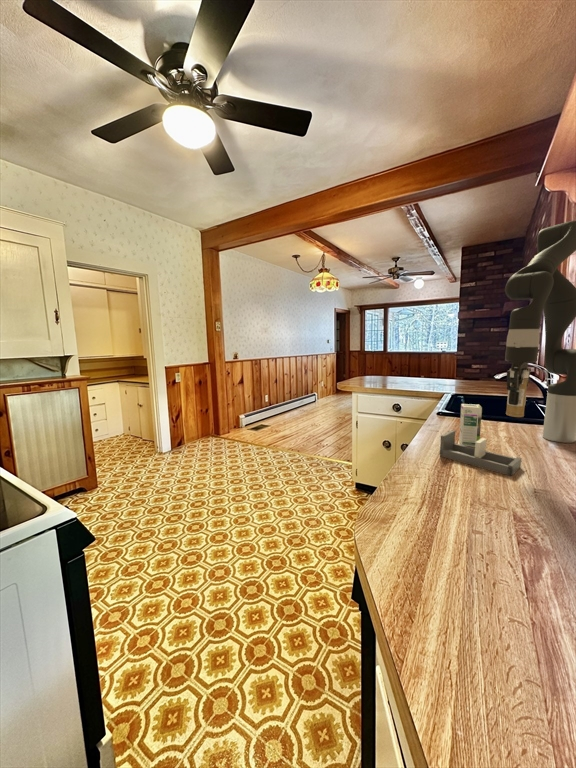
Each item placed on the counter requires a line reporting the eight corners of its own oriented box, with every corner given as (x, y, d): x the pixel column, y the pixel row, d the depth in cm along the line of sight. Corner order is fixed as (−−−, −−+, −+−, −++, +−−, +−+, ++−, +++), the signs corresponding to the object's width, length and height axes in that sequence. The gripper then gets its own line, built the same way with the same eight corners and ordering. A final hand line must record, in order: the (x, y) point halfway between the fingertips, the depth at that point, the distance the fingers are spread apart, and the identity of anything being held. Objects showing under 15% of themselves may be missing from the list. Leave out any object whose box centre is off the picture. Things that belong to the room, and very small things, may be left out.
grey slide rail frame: (451, 449, 109) (452, 430, 108) (520, 467, 93) (522, 445, 92) (439, 455, 103) (440, 435, 102) (511, 476, 88) (513, 452, 87)
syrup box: (460, 446, 112) (463, 406, 109) (458, 440, 117) (461, 402, 115) (479, 447, 110) (482, 407, 107) (476, 442, 115) (479, 403, 113)
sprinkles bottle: (526, 416, 93) (531, 370, 91) (520, 418, 90) (525, 372, 88) (509, 412, 97) (513, 369, 94) (502, 415, 94) (507, 370, 92)
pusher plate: (481, 453, 100) (482, 437, 99) (485, 454, 99) (486, 438, 98) (474, 458, 96) (475, 442, 96) (478, 459, 96) (479, 443, 95)
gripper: (514, 344, 98) (508, 398, 100) (498, 345, 89) (492, 404, 91) (544, 345, 92) (537, 402, 94) (531, 346, 83) (524, 409, 85)
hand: (515, 403), depth 93 cm, fingers closed on sprinkles bottle, 4 cm apart
